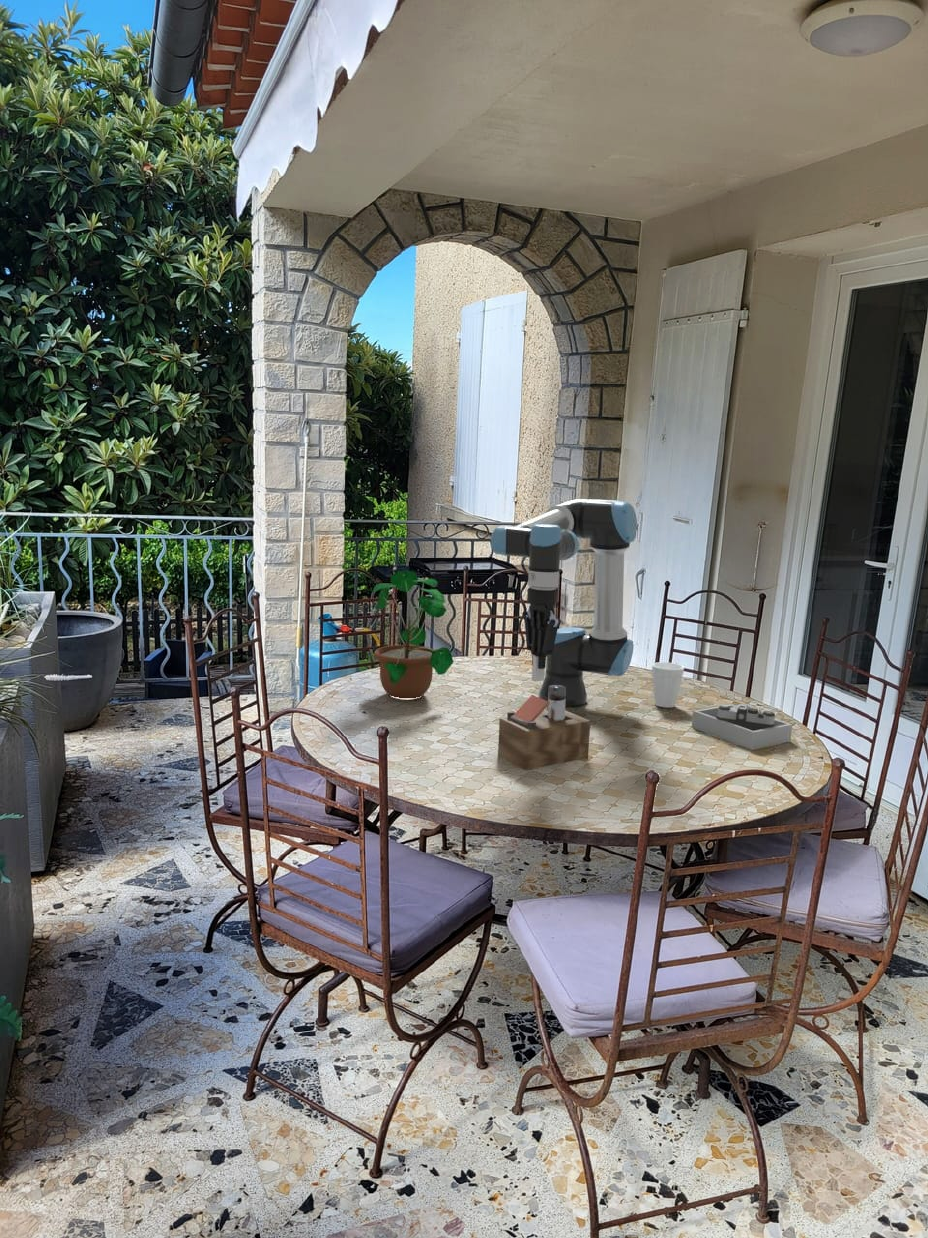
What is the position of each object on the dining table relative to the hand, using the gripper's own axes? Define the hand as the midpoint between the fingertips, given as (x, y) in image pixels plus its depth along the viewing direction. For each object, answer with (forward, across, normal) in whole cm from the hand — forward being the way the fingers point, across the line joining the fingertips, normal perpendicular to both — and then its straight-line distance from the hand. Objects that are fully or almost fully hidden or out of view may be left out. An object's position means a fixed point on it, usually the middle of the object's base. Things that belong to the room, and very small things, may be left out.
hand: (537, 680), depth 221 cm
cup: (+21, -21, +67) cm, 73 cm away
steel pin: (+19, 0, +7) cm, 20 cm away
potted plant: (+21, -64, +1) cm, 67 cm away
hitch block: (+21, 0, +3) cm, 21 cm away
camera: (+21, +12, +66) cm, 70 cm away
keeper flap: (+8, 0, -2) cm, 8 cm away
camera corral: (+21, +10, +66) cm, 70 cm away
